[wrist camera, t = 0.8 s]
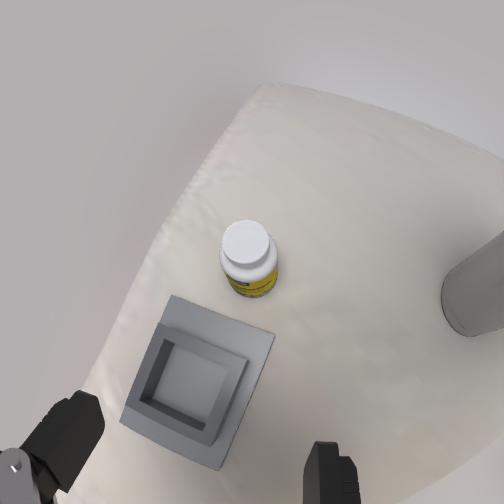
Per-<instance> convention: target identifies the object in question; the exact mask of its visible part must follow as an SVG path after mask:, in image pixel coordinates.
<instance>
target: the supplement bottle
mask: <svg viewBox="0 0 504 504" xmlns="http://www.w3.org/2000/svg"><path fill="white" fill-rule="evenodd" d="M219 257H220V263H221V266H222V268H223V270H224V272H225V274H226V276H227V278H228V280H229V282H230V284H231V286H232V287H233V289H234V290H235V291H236V292H237V293H239V294H240V295H242V296H245V297H250V298H255V297H260V296H263V295H265V294H266V293H268V292H269V291H270V290H271V289H272V288H273V286H274V285H275V282H276V279H277V270H278V251H277V246H276V243H275V241H274V239H273V238H272V236H271V235H270V234H269V233H268V232H267V231H266V229H265V228H264V227H263V226H262V225H261V224H260V223H258V222H256V221H253V220H240V221H237V222H235V223H233V224H231V225H230V226H229V227H228V228H227V229H226V230H225V232H224V234H223V237H222V244H221V246H220V251H219Z"/></svg>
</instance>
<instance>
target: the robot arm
mask: <svg viewBox="0 0 504 504" xmlns="http://www.w3.org/2000/svg"><path fill="white" fill-rule="evenodd" d="M442 306H443V310H444V313H445V315H446V318H447V320H448V321H449V323H450V324H451V326H452V327H453V328H454V329H455V330H456V331H457V332H459V333H461V334H463V335H466V336H477V335H480V334H484V333H487V332H491V331H495V330H498V329H501V328H504V231H503V232H501V233H500V234H499V235H498V236H496V237H495V238H494V239H493V240H491V241H490V242H489V243H488V244H486V245H485V246H484V247H482V248H481V249H480V250H478V251H477V252H476V253H474V254H473V255H472V256H470V257H469V258H467V259H466V260H465V261H463V262H462V263H461V264H459V265H458V266H457V267H455V268H454V269H453V270H451V271H450V273H449V274H448V275H447V277H446V279H445V281H444V284H443V288H442ZM104 428H105V421H104V418H103V414H102V411H101V407H100V404H99V400H98V398H97V397H96V396H94V395H91V394H89V393H86V392H83V391H81V390H78V391H76V392H75V393H74V394H73V396H72V397H71V398H70V399H67V398H64V399H63V400H61V401H59V402H58V403H56V404H54V406H53V407H52V408H51V409H50V411H49V412H48V414H47V415H46V416H45V417H44V418H43V419H42V422H40V423H39V424H38V426H37V427H36V428H35V429H34V431H33V432H32V433H31V434H30V436H29V437H28V438H27V439H26V441H25V442H24V443H23V444H22V446H21V447H19V448H9V449H6V450H4V451H0V504H58V503H57V499H56V495H55V493H56V491H57V490H58V489H60V490H62V491H64V492H66V493H68V492H69V490H70V488H71V486H72V485H73V483H74V481H75V480H76V478H77V476H78V475H79V473H80V471H81V469H82V468H83V466H84V464H85V463H86V461H87V459H88V458H89V456H90V454H91V453H92V451H93V449H94V448H95V446H96V444H97V443H98V441H99V440H100V438H101V436H102V434H103V432H104ZM303 504H361V498H360V492H359V482H358V475H357V468H356V466H355V464H354V463H353V461H352V460H351V458H350V457H349V456H339V450H338V444H337V442H321V441H316V442H315V443H314V445H313V448H312V450H311V452H310V455H309V457H308V459H307V462H306V464H305V468H304V475H303Z"/></svg>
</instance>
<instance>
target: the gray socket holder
mask: <svg viewBox="0 0 504 504" xmlns="http://www.w3.org/2000/svg"><path fill="white" fill-rule="evenodd" d="M274 337H275V335H273V334H271V333H268V332H265V331H262V330H260V329H257V328H254V327H252V326H249V325H246V324H244V323H241V322H238V321H236V320H233V319H230V318H228V317H225V316H223V315H220V314H217V313H215V312H212V311H210V310H207V309H205V308H202V307H200V306H197V305H195V304H193V303H190V302H188V301H185V300H183V299H180V298H178V297H176V296H173V295H171V297H170V299H169V301H168V303H167V306H166V308H165V310H164V312H163V315H162V317H161V319H160V322H159V323H158V325H157V327H156V330H155V332H154V334H153V337H152V339H151V341H150V344H149V346H148V349H147V351H146V353H145V356H144V358H143V361H142V363H141V366H140V368H139V370H138V373H137V375H136V378H135V380H134V383H133V386H132V388H131V391H130V393H129V396H128V398H127V401H126V404H125V408H124V410H123V413H122V415H121V418H120V421H119V422H120V423H122V424H123V425H125V426H127V427H129V428H130V429H132V430H134V431H135V432H137V433H139V434H141V435H143V436H144V437H146V438H148V439H150V440H152V441H154V442H156V443H158V444H159V445H161V446H163V447H165V448H167V449H169V450H171V451H173V452H176V453H178V454H180V455H182V456H184V457H186V458H188V459H190V460H193V461H195V462H197V463H199V464H202V465H204V466H206V467H209V468H211V469H214V470H216V471H219V469H220V467H221V465H222V463H223V460H224V458H225V456H226V454H227V451H228V449H229V447H230V445H231V442H232V440H233V438H234V435H235V433H236V431H237V429H238V426H239V424H240V422H241V419H242V417H243V414H244V412H245V410H246V407H247V405H248V402H249V400H250V398H251V395H252V393H253V390H254V388H255V385H256V383H257V381H258V378H259V376H260V373H261V371H262V368H263V366H264V363H265V360H266V358H267V355H268V353H269V350H270V348H271V345H272V342H273V340H274Z"/></svg>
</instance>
